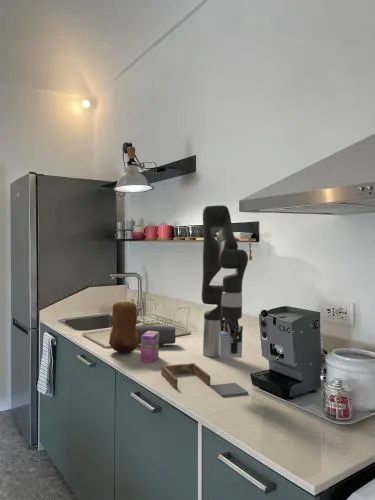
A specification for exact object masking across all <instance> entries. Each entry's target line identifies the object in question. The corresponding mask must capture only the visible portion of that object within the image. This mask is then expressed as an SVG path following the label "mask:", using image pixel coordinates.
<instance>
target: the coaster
mask: <svg viewBox="0 0 375 500" xmlns="http://www.w3.org/2000/svg"><path fill="white" fill-rule="evenodd" d="M210 388H211V389H212V390H214V392H216V393H218V395H219V396H221V397H222V398H225V397H228V398H229V397H235V396H236V397H237V396H243V395H244V396H245V395H249V391H248V390H246V389H244V388H243V387H242V386H240V385H239V384H238V383H236V382H232V383H221V384H219V383H218V384H210Z"/></svg>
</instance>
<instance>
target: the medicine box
mask: <svg viewBox="0 0 375 500" xmlns="http://www.w3.org/2000/svg"><path fill="white" fill-rule="evenodd" d="M232 334H234V333H232ZM233 339H234V336H233ZM238 339H239V336H238ZM219 355H220V356H219V358H222V359H223V358H227V359H228V358H231V359H232V358H233V359H234V358H237V359H241V358H243V334H242V338H241V342H238V344H237V353H235V354H232V353H231V337H230V336H229V332H224V331H220V333H219Z"/></svg>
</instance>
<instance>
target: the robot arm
mask: <svg viewBox="0 0 375 500" xmlns="http://www.w3.org/2000/svg"><path fill="white" fill-rule="evenodd" d="M212 228H221V229H219V231H217V236H216V238H215V236H214V235H213V232H212ZM202 229H203V230H202V231H203V247H202V286H201V301H202V304H204V305H210V306H211V305H212V306H215V305H216V307H214V308H213V309H211V310H207V311H205V312H204V313H203V337H202V338H203V340H202V355H203V356H205V357H209V358H216V357H217V358H220V355H219V333H220V331H224V332H229V336H230V337H231V353H232V354H235V353H237V344H238V342H241V338H242V339H243V336H242V335H243V332H244V331H243V330H244V329H243V328H244V327H243V325H240V324H239V319H242V318H243V280H244V276H245V271H246V268H247V266H248V262H249V256H248V253H247V251H245V250H244V249H239V245H238V241H237V239H236V237H235V235H234V229H233V225H232V219H231V214H230V210H229V208H228V207H227V206H226V205H222V204H221V205H208V206H204V208H203V210H202ZM222 268H223V269H226V270H228V269H229V270H235V271H234V273H233V274H232V273H231V274H228V275H225V276H223V278H222V285H219V284H218V285H217V284H213V285H212V284H211V282H212V281H213V279H214V277H216V275H217V274H218V273H219V272H220V271H221V269H222ZM232 333H234V334H232ZM233 336H234V339H233ZM238 336H239V339H238Z"/></svg>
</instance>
